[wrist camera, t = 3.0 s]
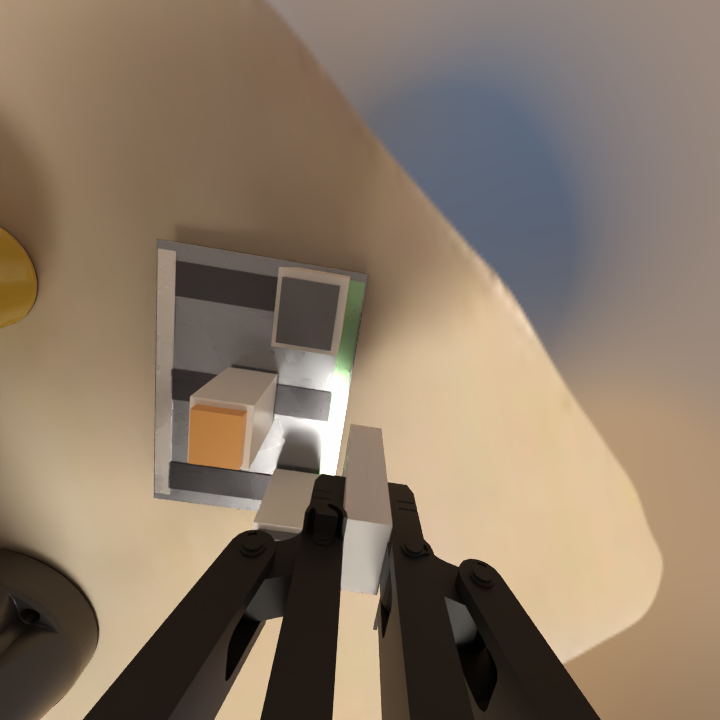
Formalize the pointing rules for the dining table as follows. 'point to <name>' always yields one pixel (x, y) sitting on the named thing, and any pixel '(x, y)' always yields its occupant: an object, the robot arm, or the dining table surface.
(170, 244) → the panel
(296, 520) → the block
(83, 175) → the dining table surface
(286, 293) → the breaker
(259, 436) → the block
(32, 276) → the plant pot
